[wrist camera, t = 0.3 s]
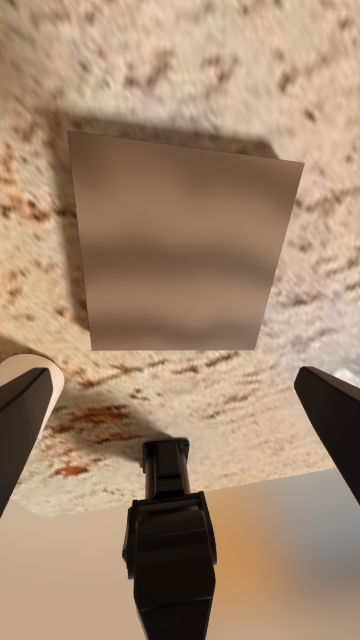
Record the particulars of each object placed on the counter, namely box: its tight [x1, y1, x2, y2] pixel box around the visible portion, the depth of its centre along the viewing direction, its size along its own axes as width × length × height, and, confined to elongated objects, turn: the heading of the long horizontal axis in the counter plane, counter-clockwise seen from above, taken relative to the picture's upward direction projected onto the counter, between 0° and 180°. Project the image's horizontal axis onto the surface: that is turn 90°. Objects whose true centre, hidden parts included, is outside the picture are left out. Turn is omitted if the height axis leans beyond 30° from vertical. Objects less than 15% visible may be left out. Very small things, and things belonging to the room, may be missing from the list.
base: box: [67, 131, 305, 351], centre depth 19 cm, size 16×16×2 cm
